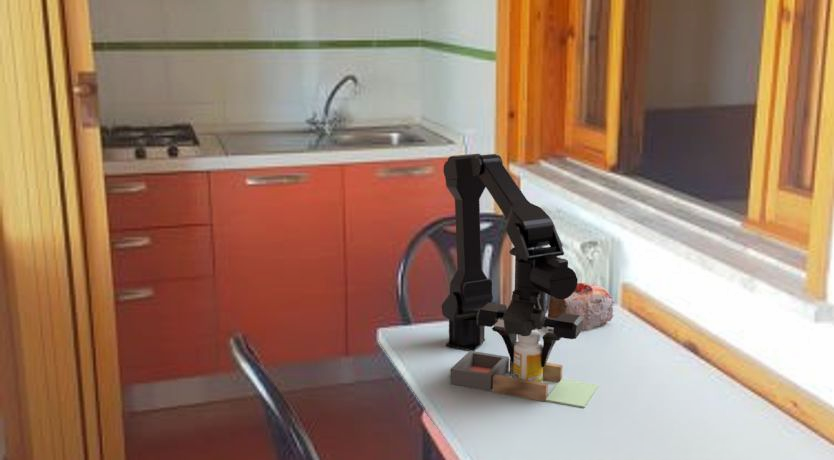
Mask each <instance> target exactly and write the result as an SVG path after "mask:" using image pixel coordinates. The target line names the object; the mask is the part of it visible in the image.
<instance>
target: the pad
mask: <svg viewBox="0 0 834 460" xmlns="http://www.w3.org/2000/svg"><path fill="white" fill-rule="evenodd" d="M598 388H599V384H594V383H589V382H581V381H576V380H569V379H564V378H562V379H561V381H560V382H557V385H556V386H555V387H554V388H553V389H552V391H551V392H550V394H548V397H547V399H546V401H545V402H549V403H554V404H559V405H560V404H561V405H566V406H572V407H577V408H582V409H584V408H586V406H587V405H588V404H589V402H590V400H591V399H592V397H593V396H594V394H595V393H596V391H597V390H598Z"/></svg>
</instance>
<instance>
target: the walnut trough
mask: <svg viewBox="0 0 834 460" xmlns="http://www.w3.org/2000/svg"><path fill="white" fill-rule="evenodd" d="M513 372H514V362H511V359H510V358H509V375H513ZM561 379H563V364H557V363H551V362H546V365H545V366H544V367H543V380H544V381H545V380H546V381H551V382H557V383H559V382H560V381H561ZM492 393H497V394H502V395H507V396H512V397H519V398H523V399H524V398H525V399H529V400H536V401H540V402H541V401H542V402H547V401H546V399H547V397H548V396H549V394H548V393H549V383H548V382H543V381H542V382H537V381H531V380H525V379H520V378H514V377H512V376H506V375H505V376H502V375H496V374H495V375H494V376H493V389H492Z"/></svg>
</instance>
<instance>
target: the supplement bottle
mask: <svg viewBox="0 0 834 460" xmlns="http://www.w3.org/2000/svg"><path fill="white" fill-rule="evenodd" d="M517 339H518V341H517V343H516V344H515V345H514V372H513V374H512V375H513V377H514V378H520V379H525V380H531V381H537V382H543V380H544V379H543V367H542V365H541V359H542V351H543V344H542V342H540V341H541V333H540V331H539V330H538V329H535V330H532V332H531V334H530V335H529V336H521V335H518V334H517Z"/></svg>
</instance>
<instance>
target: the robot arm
mask: <svg viewBox="0 0 834 460" xmlns="http://www.w3.org/2000/svg"><path fill="white" fill-rule="evenodd" d="M442 171H443V175H444V177H445V178H444V180H445V186H446V189H447V190H448V191H449V193H450V194H451V195H452V197H453V199H454V213H455V216H454V217H455V234H456V235H455V239H456V243H455V244H456V264H457V266H456V272H455V274H454V275H453V277H452V279H451V281H450V283H449V294H448V296H447V297H446V299H445V300H444V301H443V303H442V304H441V312H442V316H443V317H445V318H446V319H447V320H448V341H447V342H445V347H447V348H448V347H449V348H455V349H461V350H467V351H475V350H477V349H478V348H479V347H481V345H482V344H483V343H484V342H486V338H485V327H489V328H491V330H492V331H493V332H496V333H497V334H498V335H500V336H501V337H502V340H503V342H504V344H505V347H506V350H507V353H508V355H509V356H508V357H509V360H510V359H511V362H514V345H515V344H516V343H517V342H518V341H517V339H518V335H521V336H529V335H530V334H531V332H532V330H540V331H542V329H543V328H546V332H545V333H544V335H543V336H542V341H543V344H542V345H543V351H542V359H541V365H542V367H544V366H545V365H546V363H548V359H549V358H550V355H551V353H552V351H553V347H554V345H555V344H556V342H557V341H560V340H561V339H568V340H574V339H575V340H576V339H577V338H578V336H579V335H580V334H581V333H582V332H583V319H582V317H581V316H580V315H574V314H567V313H562V314H561V315H560V316H559V317H558V318H551V317H548V316H546V314H548V307H547V295H549V297H550V296H552V297H554V298H556V299H561V300H562V299H566V298H568V297H569V296H571V295H572V294H573V292H574V291H575V289H576V286H577V283H578V277H577V275H576V272H575V270H574V269H572V268H571V267H569V260H568V259H565V258H561V257H560V256H564V255H565V252H564V249H563V245H564V244H563V243H562V241H561V238H560V236H559V234H558V232H557V229H556V227H555V226H556V225H555V223H554V221H553V220H552V218H551V217H550V215H548V214H547V212H545V210H544V209H543V208H541V207H540V206H538V205H536V204H534V203H532V202H530V201H529V200H528V199H527V197H525V195H524V193H523V192H522V191H521V189H520V188H519V186H518V185H517V183H516V182H515V180H514V179H513V178H512V175H510V173H509V171H508V170H507V168H506V167H505V166H504V162H503V159H502V157H501V156H500V155H499V154H496V153H488V154H481V153H469V154H459V155H451V156H449V157H448V158H447V161H445V162H444V164H443V170H442ZM485 189H486V190H487V191H488V192H489V194H490V196H491V197H492V199H493V200H494V202H495V203H496V205H497V206H498V208H499V209H500V211H501V212H502V214H503V216H504V217H505V221H506V222H505V223H506V224H505V231H506V233H507V236H508V237H509V240H510V242H511V244H512V245H513V247H512V248H511V249H510V250H509V254H510V255H512V256H514V257H515V258H514V289H513V291H512V294H511V301H510V303H509V305H508V306H506V304H501V303H495V302H493V299H494V297H493V296H494V295H493V282H492V281H493V280H491V278H488V276H487V275H486V274H485V272H484V271H483V268H482V266H483V264H482V240H481V236H482V235H481V211H480V209H481V208H480V206H481V205H480V199H481V197H482V195H483V194H484V191H485ZM545 246H547V247H545Z"/></svg>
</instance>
